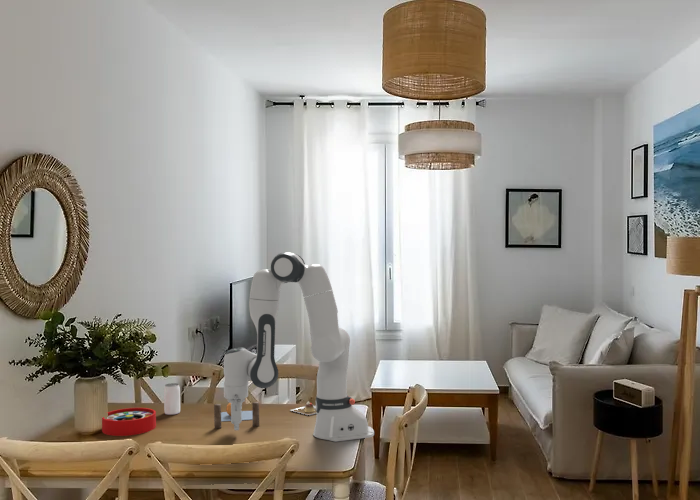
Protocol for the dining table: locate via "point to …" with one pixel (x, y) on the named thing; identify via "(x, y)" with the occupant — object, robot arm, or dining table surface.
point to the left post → (217, 416)
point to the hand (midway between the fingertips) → (236, 429)
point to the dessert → (306, 408)
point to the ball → (228, 409)
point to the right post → (255, 413)
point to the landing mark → (245, 414)
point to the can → (172, 399)
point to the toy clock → (129, 421)
